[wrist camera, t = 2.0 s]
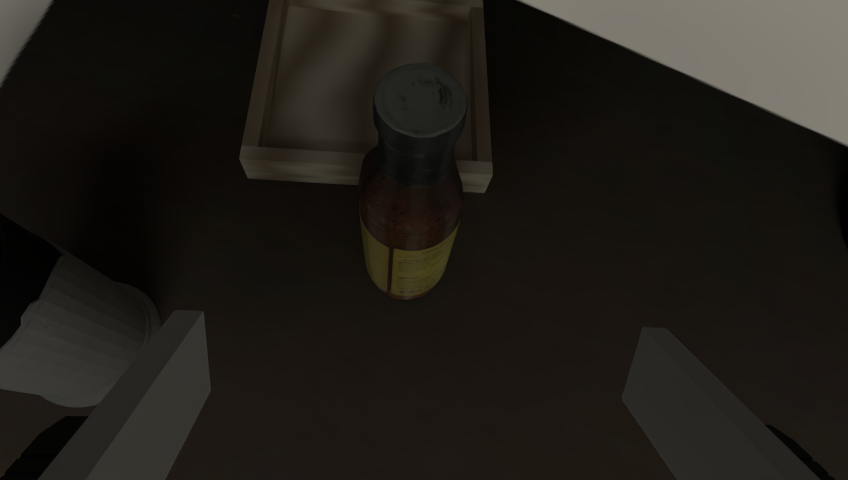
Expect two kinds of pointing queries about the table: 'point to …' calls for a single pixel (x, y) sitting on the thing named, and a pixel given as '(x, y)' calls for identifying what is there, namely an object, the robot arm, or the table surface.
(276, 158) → the birch tray
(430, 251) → the sauce bottle
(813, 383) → the table surface
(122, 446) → the robot arm
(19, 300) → the glass holder
